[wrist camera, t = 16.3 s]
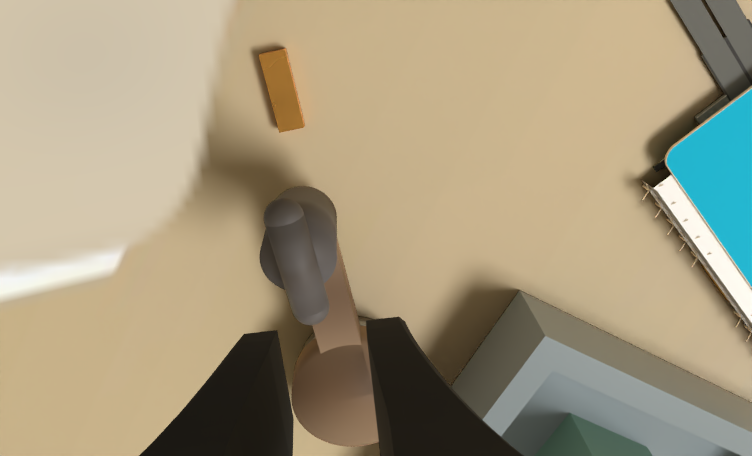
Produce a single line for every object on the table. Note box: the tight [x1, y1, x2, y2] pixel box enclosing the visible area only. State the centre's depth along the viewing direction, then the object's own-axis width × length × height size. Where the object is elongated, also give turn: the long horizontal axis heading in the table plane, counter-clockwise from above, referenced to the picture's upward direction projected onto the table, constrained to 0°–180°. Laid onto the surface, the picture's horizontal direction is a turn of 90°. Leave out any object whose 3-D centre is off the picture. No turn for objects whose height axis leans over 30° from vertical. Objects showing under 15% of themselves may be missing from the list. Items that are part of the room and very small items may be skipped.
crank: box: [260, 186, 379, 447], centre depth 19 cm, size 11×4×5 cm, turn 12°
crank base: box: [259, 48, 373, 350], centre depth 21 cm, size 14×4×1 cm, turn 11°
